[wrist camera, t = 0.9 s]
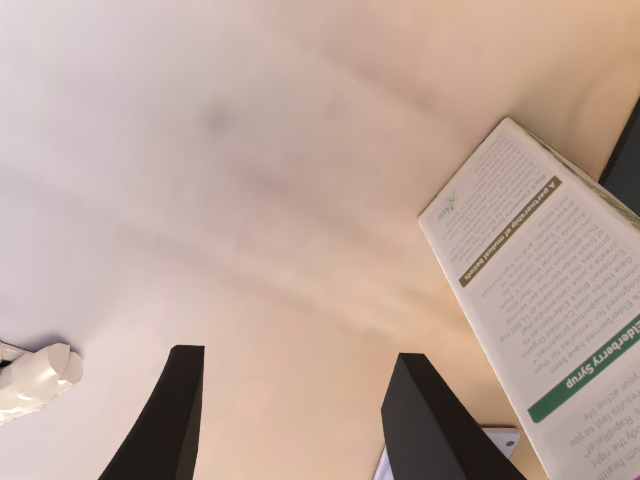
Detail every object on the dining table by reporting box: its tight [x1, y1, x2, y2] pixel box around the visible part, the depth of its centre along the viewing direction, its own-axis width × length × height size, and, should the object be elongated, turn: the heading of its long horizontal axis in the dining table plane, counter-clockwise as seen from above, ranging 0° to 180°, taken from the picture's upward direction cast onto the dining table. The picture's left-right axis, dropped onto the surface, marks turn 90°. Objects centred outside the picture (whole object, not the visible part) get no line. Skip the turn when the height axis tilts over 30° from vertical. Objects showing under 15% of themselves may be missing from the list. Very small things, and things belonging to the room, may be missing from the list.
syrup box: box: [418, 117, 640, 480], centre depth 17 cm, size 6×6×14 cm
